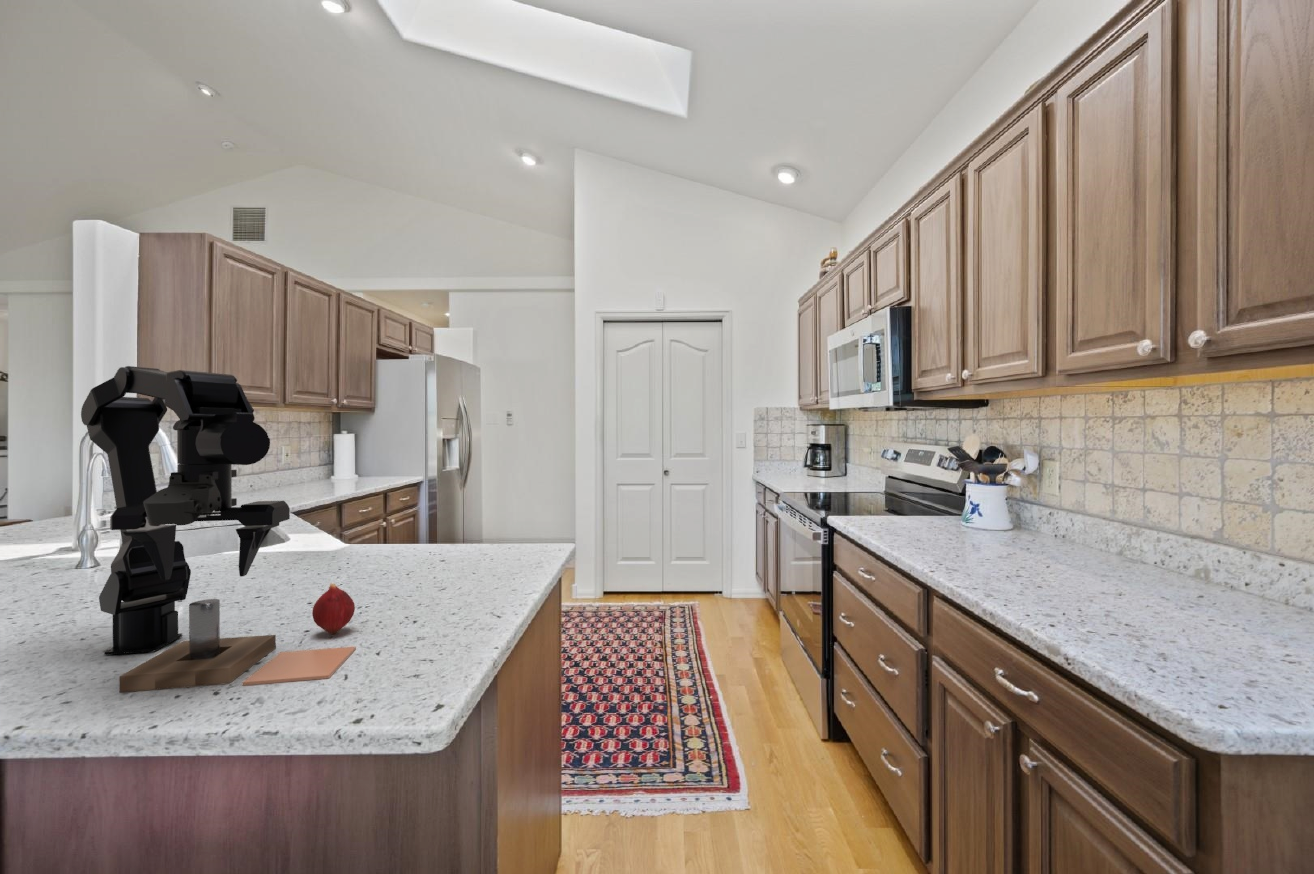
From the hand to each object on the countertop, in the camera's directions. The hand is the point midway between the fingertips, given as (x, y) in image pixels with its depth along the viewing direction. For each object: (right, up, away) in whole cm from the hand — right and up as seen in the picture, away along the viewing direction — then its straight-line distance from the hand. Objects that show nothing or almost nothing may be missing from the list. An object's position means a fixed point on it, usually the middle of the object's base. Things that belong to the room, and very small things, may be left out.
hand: (205, 577), depth 75 cm
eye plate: (0, -12, 0) cm, 12 cm away
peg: (0, -12, 0) cm, 12 cm away
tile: (+13, -12, 0) cm, 18 cm away
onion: (+10, -12, +13) cm, 21 cm away
